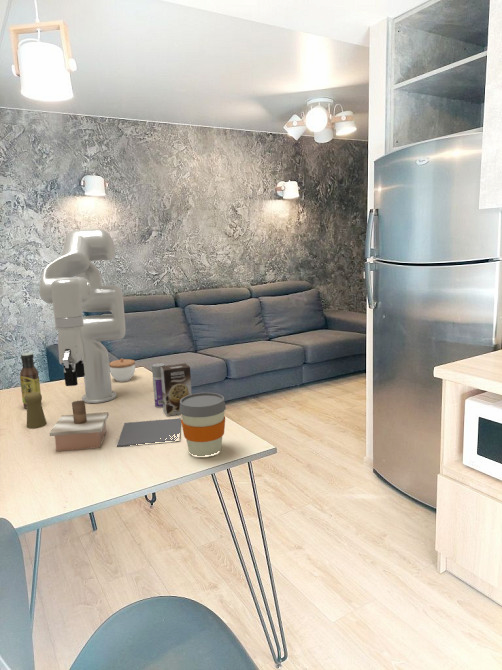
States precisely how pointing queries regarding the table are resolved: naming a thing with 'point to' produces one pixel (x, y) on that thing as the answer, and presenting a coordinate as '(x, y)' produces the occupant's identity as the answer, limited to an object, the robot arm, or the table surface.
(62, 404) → the table surface
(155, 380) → the container
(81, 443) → the dish
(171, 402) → the coffee box
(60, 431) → the lid
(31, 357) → the sauce bottle
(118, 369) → the lidded jar
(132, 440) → the mat
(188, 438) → the reusable coffee cup
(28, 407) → the cork
